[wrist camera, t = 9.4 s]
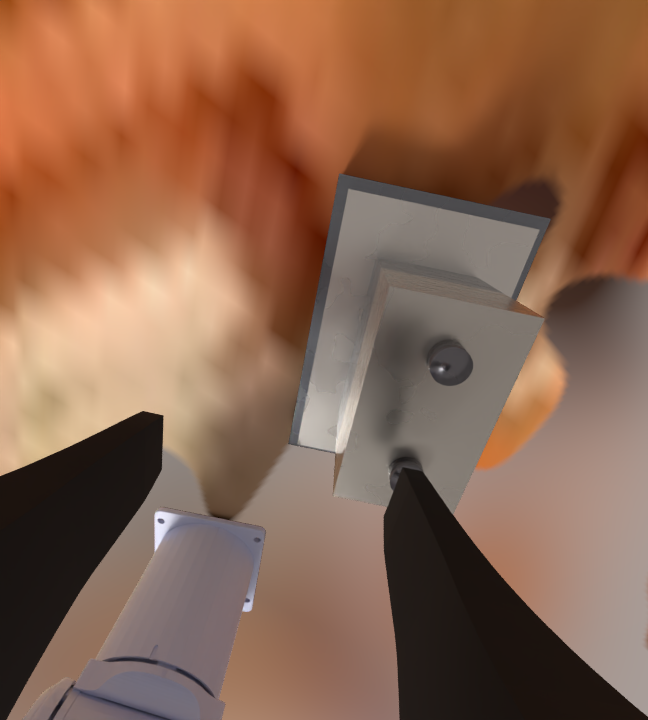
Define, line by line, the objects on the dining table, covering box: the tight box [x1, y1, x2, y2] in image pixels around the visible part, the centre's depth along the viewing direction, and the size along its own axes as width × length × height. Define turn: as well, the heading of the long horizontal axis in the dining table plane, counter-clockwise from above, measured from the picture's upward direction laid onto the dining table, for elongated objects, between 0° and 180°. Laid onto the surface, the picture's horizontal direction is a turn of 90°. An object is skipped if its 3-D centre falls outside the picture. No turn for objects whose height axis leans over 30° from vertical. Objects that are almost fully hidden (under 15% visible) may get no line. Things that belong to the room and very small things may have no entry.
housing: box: [333, 256, 545, 514], centre depth 14 cm, size 8×4×7 cm, turn 169°
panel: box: [289, 174, 551, 454], centre depth 18 cm, size 14×9×2 cm, turn 169°
